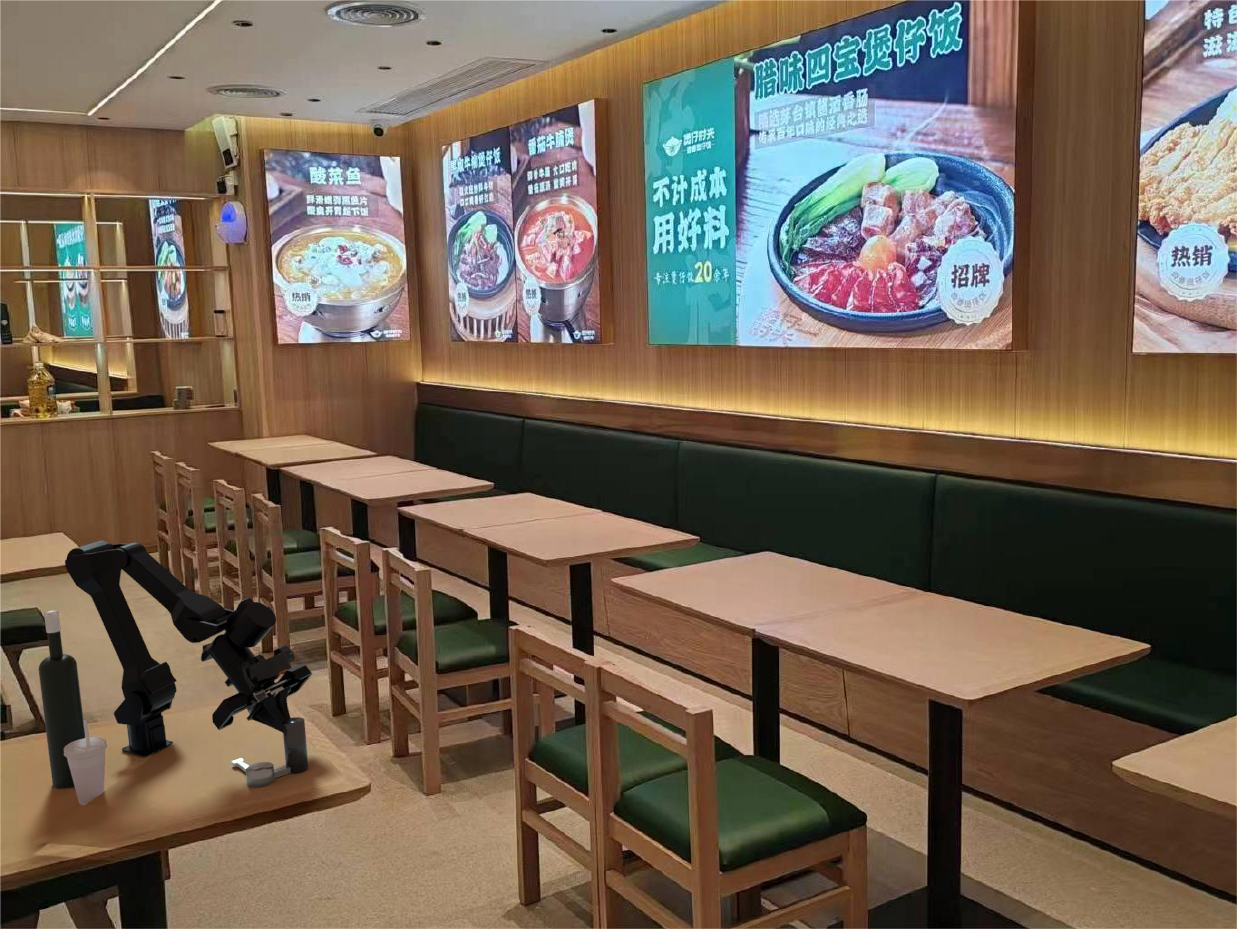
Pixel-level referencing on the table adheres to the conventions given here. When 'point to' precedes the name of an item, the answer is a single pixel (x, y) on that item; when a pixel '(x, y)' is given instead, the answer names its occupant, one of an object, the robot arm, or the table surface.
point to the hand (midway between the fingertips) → (292, 734)
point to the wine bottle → (60, 702)
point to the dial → (294, 756)
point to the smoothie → (87, 765)
